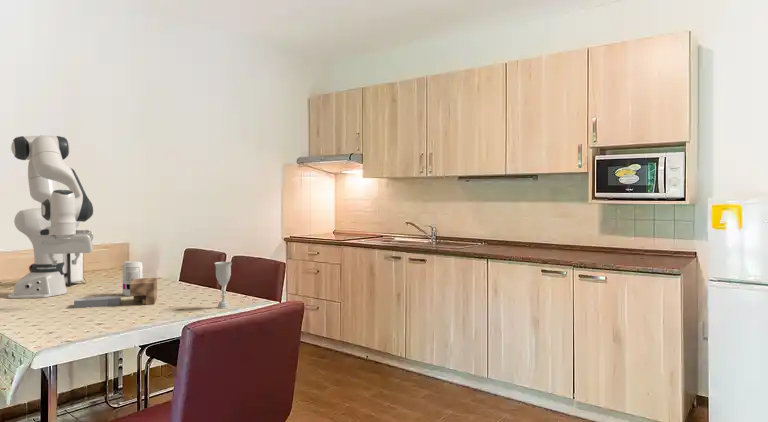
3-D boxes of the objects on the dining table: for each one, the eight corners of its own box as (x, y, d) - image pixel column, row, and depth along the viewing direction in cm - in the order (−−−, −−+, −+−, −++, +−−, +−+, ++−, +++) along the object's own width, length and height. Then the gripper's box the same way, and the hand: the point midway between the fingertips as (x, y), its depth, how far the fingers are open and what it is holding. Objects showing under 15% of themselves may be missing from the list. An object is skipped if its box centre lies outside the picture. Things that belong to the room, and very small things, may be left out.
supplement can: (118, 295, 236) (118, 262, 236) (132, 292, 244) (132, 260, 243) (133, 297, 234) (133, 263, 233) (146, 293, 242) (146, 261, 241)
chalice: (211, 306, 214) (211, 262, 213) (227, 304, 218) (227, 261, 218) (219, 309, 208) (218, 264, 208) (235, 307, 213) (235, 263, 212)
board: (74, 308, 210) (74, 301, 210) (78, 305, 217) (78, 297, 217) (118, 305, 215) (118, 298, 215) (121, 302, 222) (121, 295, 222)
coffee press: (51, 283, 268) (50, 224, 267) (87, 281, 275) (87, 223, 274) (46, 288, 253) (45, 226, 252) (84, 286, 259) (83, 225, 258)
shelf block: (130, 305, 215) (129, 283, 215) (134, 299, 228) (134, 278, 228) (154, 304, 218) (153, 282, 217) (157, 298, 231) (156, 277, 231)
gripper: (94, 229, 218) (95, 262, 218) (37, 230, 211) (37, 264, 211) (91, 230, 212) (91, 264, 212) (32, 231, 205) (32, 266, 205)
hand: (64, 264), depth 212 cm, fingers open, 5 cm apart
